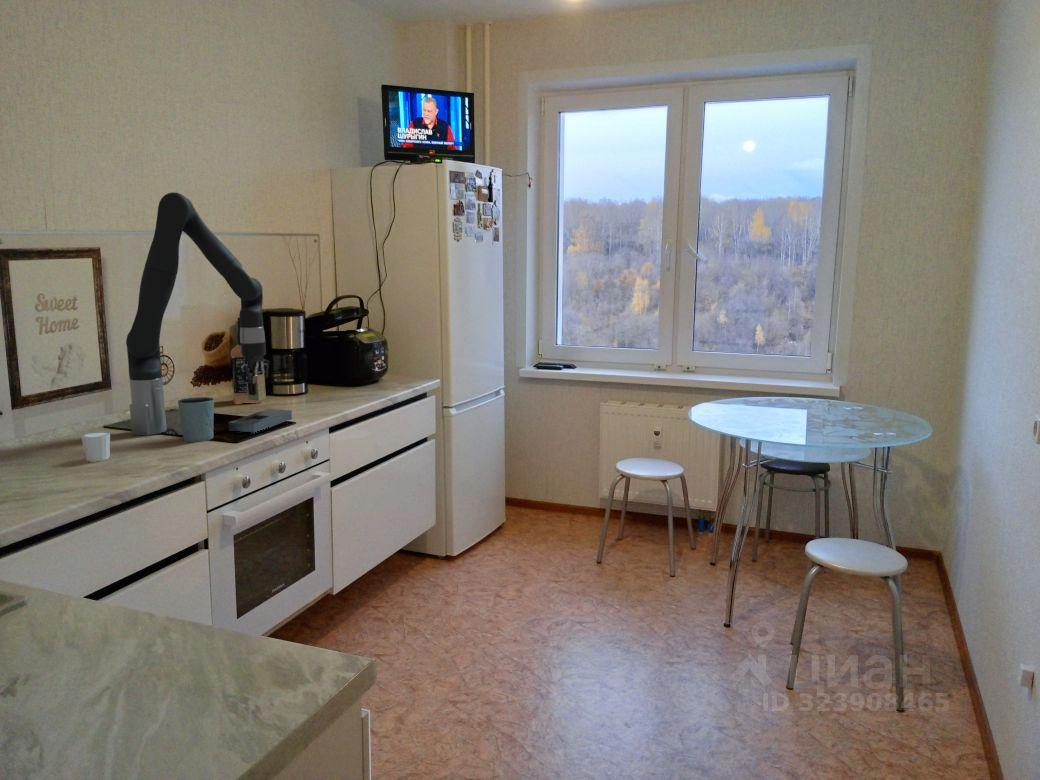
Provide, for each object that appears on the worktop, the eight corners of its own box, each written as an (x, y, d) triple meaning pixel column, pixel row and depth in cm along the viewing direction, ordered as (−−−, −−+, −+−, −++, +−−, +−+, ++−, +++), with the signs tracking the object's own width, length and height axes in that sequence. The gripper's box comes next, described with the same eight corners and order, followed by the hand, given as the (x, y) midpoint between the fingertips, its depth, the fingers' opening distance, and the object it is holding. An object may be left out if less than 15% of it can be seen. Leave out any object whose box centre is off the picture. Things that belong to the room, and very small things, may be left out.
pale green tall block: (258, 400, 249) (257, 375, 248) (247, 400, 250) (246, 375, 249) (265, 398, 253) (264, 373, 252) (255, 397, 254) (253, 373, 253)
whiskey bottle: (235, 399, 298) (229, 316, 292) (262, 398, 301) (257, 315, 295) (233, 404, 288) (227, 318, 283) (261, 403, 291) (255, 318, 285)
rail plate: (254, 433, 243) (253, 424, 243) (229, 431, 246) (228, 422, 245) (291, 418, 264) (291, 410, 264) (268, 417, 267) (267, 408, 266)
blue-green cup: (175, 442, 232) (172, 402, 230) (189, 434, 242) (186, 396, 240) (208, 442, 232) (206, 403, 230) (221, 434, 242) (219, 396, 240)
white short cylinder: (105, 454, 218) (103, 430, 217) (116, 458, 214) (114, 434, 212) (79, 459, 213) (77, 434, 211) (90, 464, 208) (87, 438, 207)
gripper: (250, 343, 240) (254, 398, 244) (275, 338, 254) (278, 390, 257) (228, 343, 242) (233, 397, 245) (255, 338, 256) (258, 389, 259)
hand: (256, 393), depth 251 cm, fingers closed on pale green tall block, 4 cm apart
